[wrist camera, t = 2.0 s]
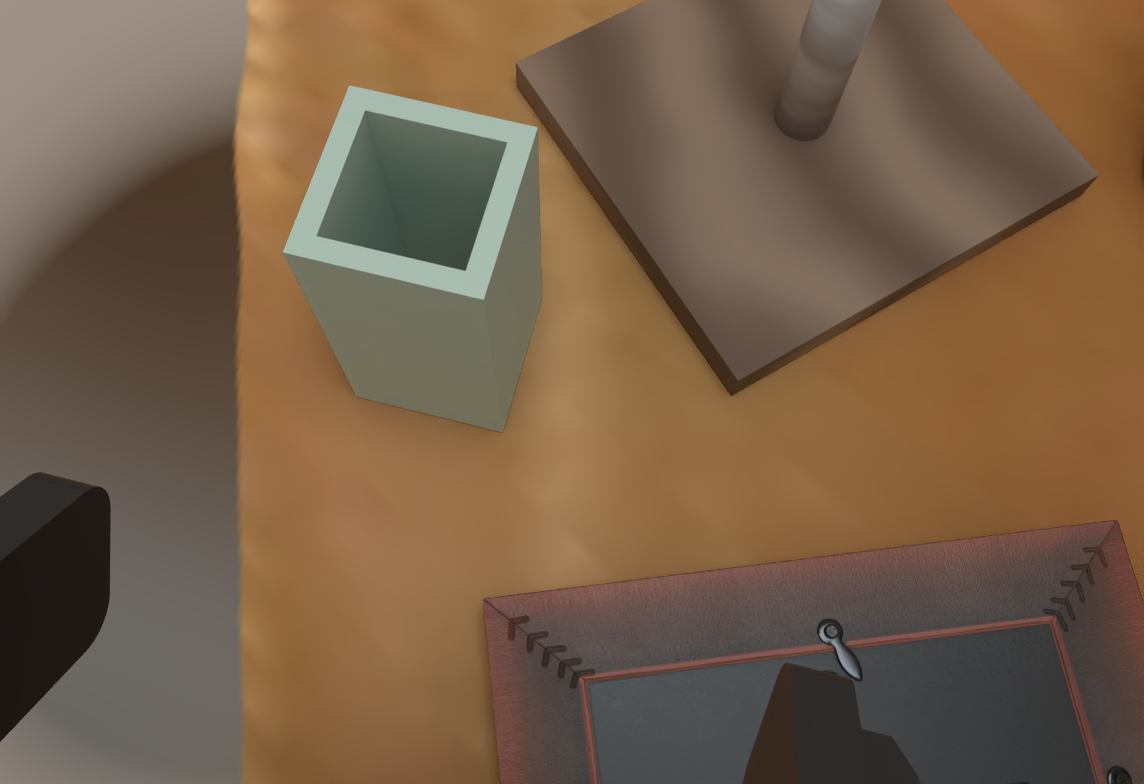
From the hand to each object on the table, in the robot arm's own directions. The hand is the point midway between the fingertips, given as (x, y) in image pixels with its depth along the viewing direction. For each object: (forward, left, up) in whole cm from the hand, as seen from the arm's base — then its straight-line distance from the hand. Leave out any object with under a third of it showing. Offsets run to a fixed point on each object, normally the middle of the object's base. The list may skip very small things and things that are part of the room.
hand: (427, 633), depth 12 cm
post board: (-21, -14, -24) cm, 35 cm away
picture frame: (-8, +8, -24) cm, 27 cm away
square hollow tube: (-5, -13, -24) cm, 27 cm away
